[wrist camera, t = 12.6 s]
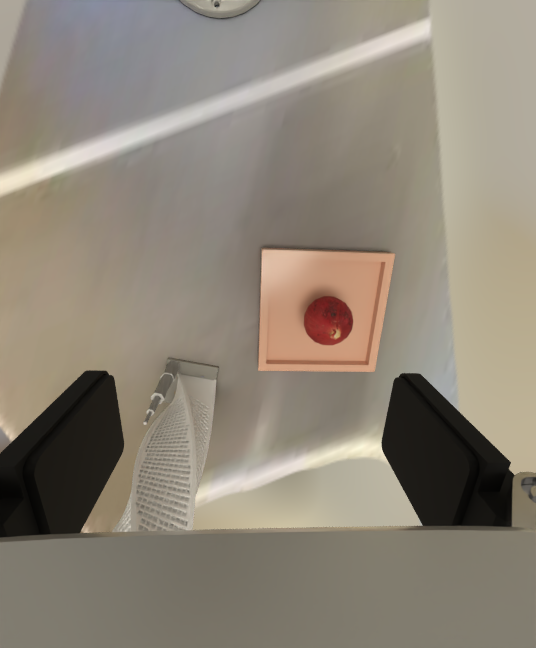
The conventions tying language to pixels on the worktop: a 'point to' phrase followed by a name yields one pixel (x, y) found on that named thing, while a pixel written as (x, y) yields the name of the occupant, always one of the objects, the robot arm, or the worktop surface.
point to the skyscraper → (172, 450)
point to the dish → (312, 283)
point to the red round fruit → (328, 320)
